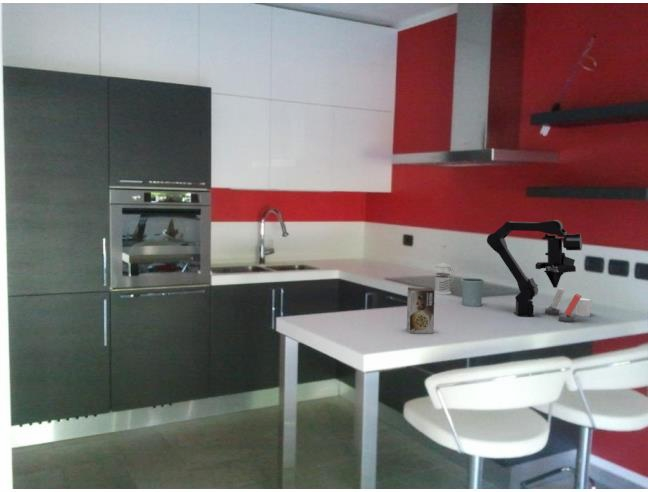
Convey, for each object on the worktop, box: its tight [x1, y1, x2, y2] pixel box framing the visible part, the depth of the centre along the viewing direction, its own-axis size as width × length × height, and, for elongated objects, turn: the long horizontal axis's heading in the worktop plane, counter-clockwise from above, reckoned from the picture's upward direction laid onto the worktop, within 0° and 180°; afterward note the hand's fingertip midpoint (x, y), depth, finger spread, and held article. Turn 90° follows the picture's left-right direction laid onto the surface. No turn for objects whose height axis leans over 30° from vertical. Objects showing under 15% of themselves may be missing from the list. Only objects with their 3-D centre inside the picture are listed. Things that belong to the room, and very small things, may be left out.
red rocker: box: [564, 293, 583, 316], centre depth 246 cm, size 2×5×10 cm, turn 145°
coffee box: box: [406, 286, 435, 334], centre depth 222 cm, size 9×6×16 cm
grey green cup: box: [460, 277, 485, 308], centre depth 278 cm, size 10×10×12 cm
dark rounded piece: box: [557, 312, 575, 323], centre depth 248 cm, size 6×6×4 cm
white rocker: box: [550, 287, 566, 309], centre depth 261 cm, size 2×5×10 cm, turn 144°
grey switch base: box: [544, 305, 561, 316], centre depth 262 cm, size 6×6×4 cm
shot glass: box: [574, 297, 593, 317], centre depth 261 cm, size 7×7×7 cm
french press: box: [433, 244, 455, 295], centre depth 312 cm, size 10×12×25 cm
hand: (555, 287), depth 250 cm, fingers closed
